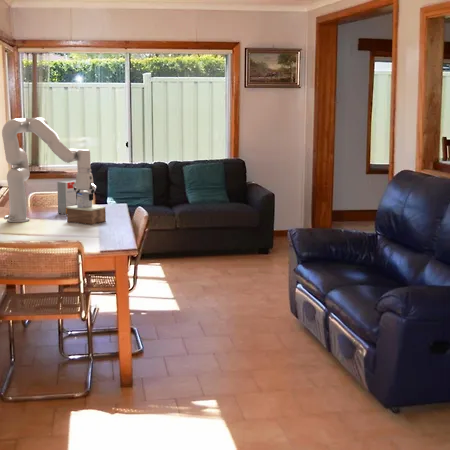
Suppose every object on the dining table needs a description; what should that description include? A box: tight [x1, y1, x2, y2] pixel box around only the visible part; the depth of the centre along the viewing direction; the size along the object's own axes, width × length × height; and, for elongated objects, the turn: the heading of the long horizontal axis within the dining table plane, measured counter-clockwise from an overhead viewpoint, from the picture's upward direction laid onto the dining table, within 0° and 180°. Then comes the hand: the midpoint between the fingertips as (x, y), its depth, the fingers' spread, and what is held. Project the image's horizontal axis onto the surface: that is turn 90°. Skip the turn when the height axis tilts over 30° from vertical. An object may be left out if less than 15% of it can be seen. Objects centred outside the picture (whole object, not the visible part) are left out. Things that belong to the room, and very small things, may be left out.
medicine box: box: [77, 191, 93, 208], centre depth 420 cm, size 8×4×9 cm, turn 144°
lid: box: [66, 204, 106, 211], centre depth 421 cm, size 13×18×1 cm
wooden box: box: [66, 208, 107, 226], centre depth 422 cm, size 13×18×8 cm
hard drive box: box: [56, 179, 85, 215], centre depth 454 cm, size 16×8×20 cm, turn 143°
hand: (84, 199), depth 420 cm, fingers open, 9 cm apart
